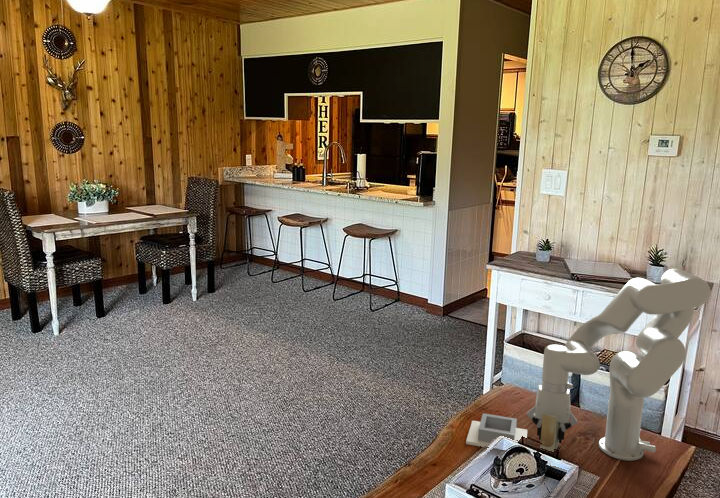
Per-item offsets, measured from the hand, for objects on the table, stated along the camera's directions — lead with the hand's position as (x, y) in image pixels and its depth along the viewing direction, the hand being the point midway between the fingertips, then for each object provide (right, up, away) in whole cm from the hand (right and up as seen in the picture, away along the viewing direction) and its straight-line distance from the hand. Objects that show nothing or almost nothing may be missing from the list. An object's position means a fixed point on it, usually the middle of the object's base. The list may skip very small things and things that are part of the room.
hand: (550, 438), depth 174 cm
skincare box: (0, -3, +1) cm, 3 cm away
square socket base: (-15, -2, +6) cm, 16 cm away
